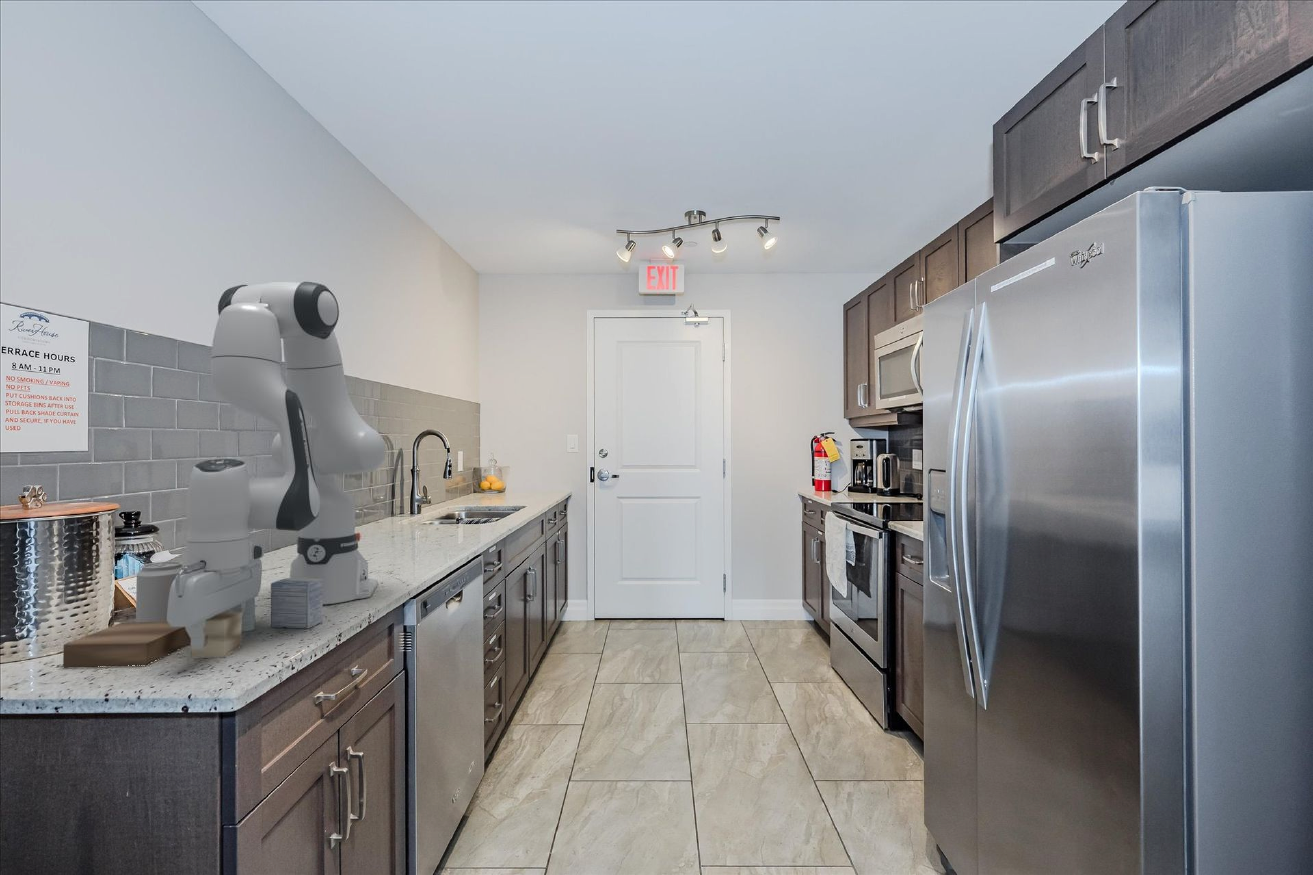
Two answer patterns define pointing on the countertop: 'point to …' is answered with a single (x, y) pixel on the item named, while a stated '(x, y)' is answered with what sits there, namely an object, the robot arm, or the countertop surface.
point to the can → (155, 590)
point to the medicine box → (296, 602)
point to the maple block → (221, 635)
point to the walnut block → (126, 645)
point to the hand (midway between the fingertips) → (217, 638)
